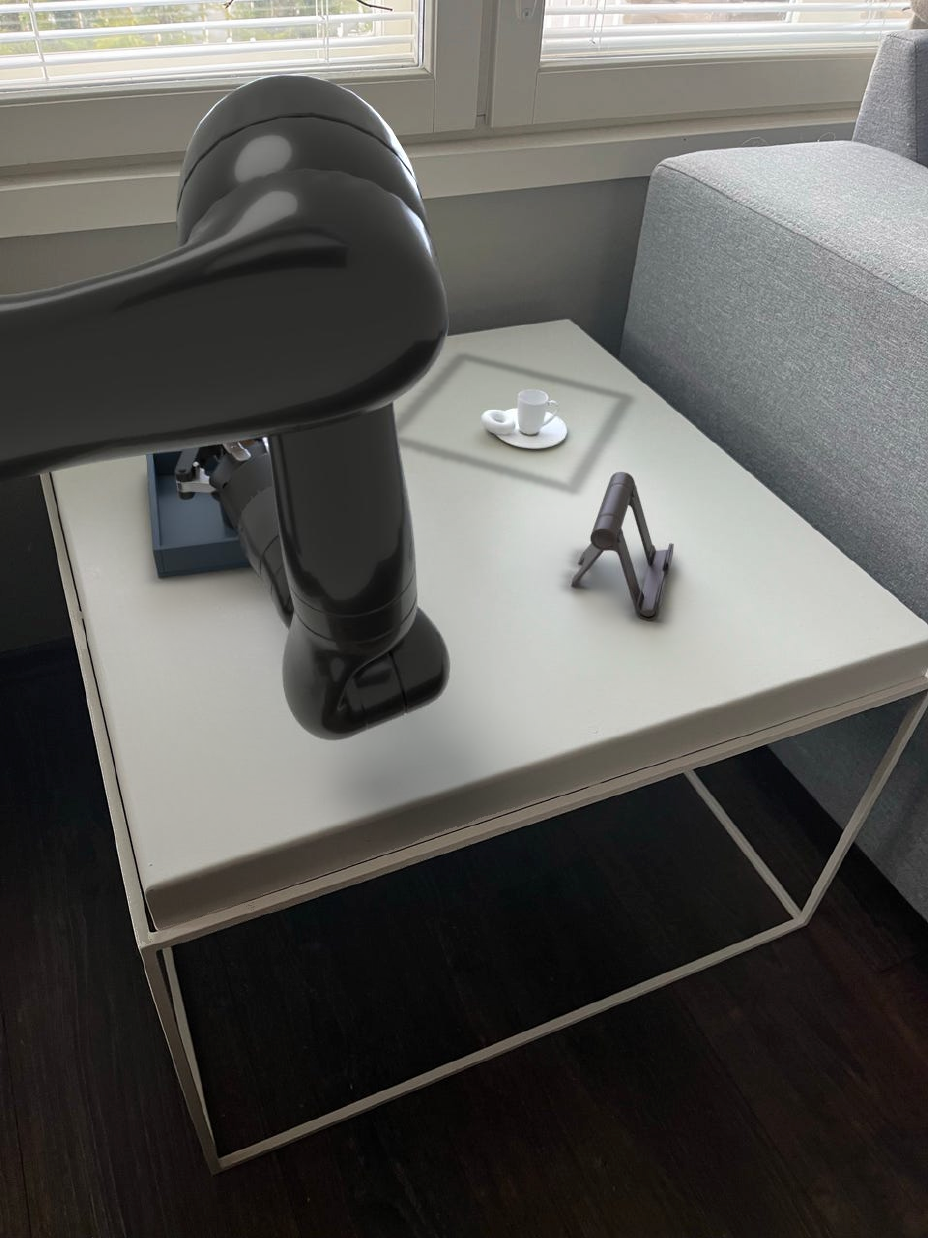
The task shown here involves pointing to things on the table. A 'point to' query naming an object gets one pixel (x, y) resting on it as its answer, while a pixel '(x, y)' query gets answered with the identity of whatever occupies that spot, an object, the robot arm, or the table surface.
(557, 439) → the teacup and saucer
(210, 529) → the tray
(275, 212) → the robot arm
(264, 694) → the table surface
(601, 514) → the tablet stand
